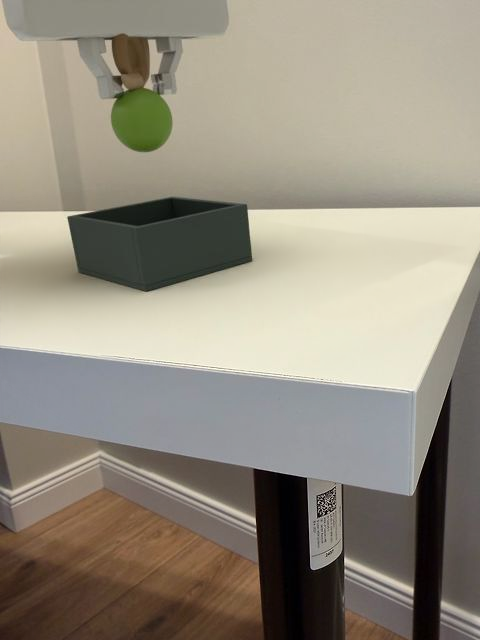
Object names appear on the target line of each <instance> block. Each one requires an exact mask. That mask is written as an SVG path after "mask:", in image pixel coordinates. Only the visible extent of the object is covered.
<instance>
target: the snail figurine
mask: <svg viewBox="0 0 480 640" xmlns="http://www.w3.org/2000/svg"><path fill="white" fill-rule="evenodd" d="M150 52H151V51H150V44H149V40H148V38H147V37H129V36H128V35H126V34H124V33H122V34H119V35H117V36H115V37H112V40H111V53H112V58H113V61H114V65H115V66H116V69H117V71H118V73H119V74H120V75H121V80H122V83H123V84H122V86H123V87H125V88H126V90H124V96H123V97H121V98H115V100H114V103H113V104H112V108H111V112H110V124H111V127H112V130H113V133H114V135H115V136H116V138H117V139H118V141H119V142H120V144H122V145H123V146H125V147H126V148H128V149H130V150H131V151H134V152H137V153H150V152H154V151H157V150H158V149H160V148H162V147H163V146H164V145H165V144H166V143H167V142H168V140H169V138H170V136H171V133H172V130H173V124H174V123H173V115H172V111H171V109H170V106H169V104H168V103H167V101H166V100H165V99H164V98H163V96H162V95H159V94H157V93H156V92H154V91H153V89H150V88H147V87H145V86H146V84H147V83H148V81H149V78H150V75H151V71H150V69H151V55H150V54H151V53H150Z"/></svg>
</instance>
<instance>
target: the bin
mask: <svg viewBox="0 0 480 640" xmlns="http://www.w3.org/2000/svg"><path fill="white" fill-rule="evenodd" d="M66 219H67V223H68V228H69V231H70V233H69V234H70V237H71V244H72V248H73V252H74V258H75V262H76V267H77V272H78V273H81V274H84V275H88V276H91V277H94V278H97V279H102V280H105V281H109V282H112V283H116V284H119V285H123V286H126V287H130V288H133V289H136V290H139V291H144V292H149V291H153V290H155V289H160V288H163V287H167V286H170V285H173V284H177V283H181V282H184V281H188V280H191V279H194V278H197V277H201V276H204V275H208V274H211V273H215V272H218V271H222V270H226V269H229V268H231V267H232V266H233V267H236V266H239V264H240V265H242V263H243V264H246V263H249V262H253V253H252V252H253V251H252V242H251V232H250V231H251V230H250V221H249V210H248V204H247V203H238V202H228V201H218V200H209V199H199V198H189V197H179V196H169V197H163V198H157V199H152V200H148V201H142V202H141V201H140V202H137V203H131V204H126V205H121V206H120V205H119V206H115V207H110V208H109V207H108V208H106V209H99V210H93V211H88V212H84V213H78V214H73V215H67V216H66ZM235 265H236V266H235ZM233 267H232V268H233ZM225 268H226V269H225Z"/></svg>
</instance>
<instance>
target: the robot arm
mask: <svg viewBox="0 0 480 640" xmlns="http://www.w3.org/2000/svg"><path fill="white" fill-rule="evenodd" d="M1 3H2V4H1V5H2V9H3V14H4V18H5V22H6V25H7V27H8V29H9V30H10V31H11V32H12V34H13V35H14V36H15V37H16V38H17V39H18V40H19V41H20V42H54V41H55V42H60V41H61V42H63V41H64V42H65V41H66V42H67V41H68V42H69V41H71V42H72V41H73V42H74V41H76V43H77V48H78V53H79V57H80V58H81V60H82V61H83V63H84V64H85V65H86V66H87V67H86V68H88V70H89V71H90V72H91V74H92V75H93V77H94V78H96V84H97V90H98V95H99V98H100V99H101V100H114V99H115V100H116V99H117V98H121V97H123V96H124V92H125V90H124V87H123V83H122V80H121V74H120V75H114V74H113V72H112V70H111V68H110V67H109V66H108V64H107V62H106V60H105V59H104V57H103V55H102V54H106V53H107V46H106V41H112V37H115V36H117V35H119V34H122V33H124V34H126V35H128V36H129V37H147V38H148V41H155V46H156V47H155V48H156V53H157V54H162V55H161V59H160V60H161V61H160V64H159V68H158V71H157V73H153V74H150V79H151V80H150V81H151V84H152V85H153V86H152V91H154V92H156V93H157V94H159V95H160V96H168V95H176V94H177V91H178V90H177V89H178V87H177V80H176V73H177V71H178V67H179V64H180V61H181V59H182V55H183V52H184V50H183V41H182V40H209V39H215V38H221V37H223V36H225V34H226V32H227V30H228V28H229V24H230V16H229V15H230V14H229V8H228V1H227V0H1Z"/></svg>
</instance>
